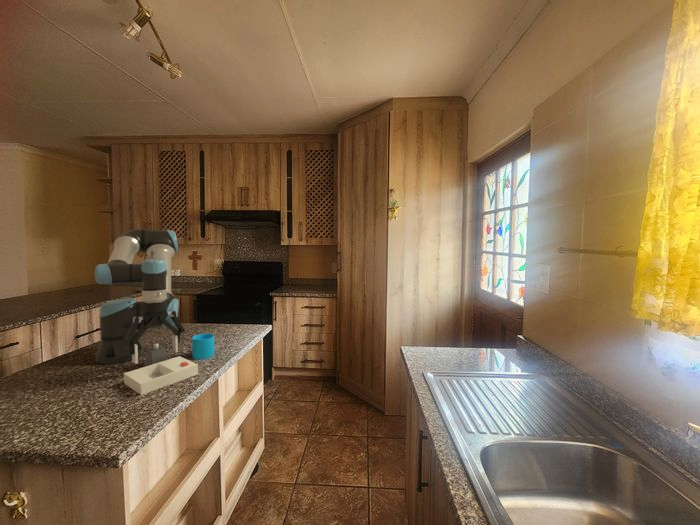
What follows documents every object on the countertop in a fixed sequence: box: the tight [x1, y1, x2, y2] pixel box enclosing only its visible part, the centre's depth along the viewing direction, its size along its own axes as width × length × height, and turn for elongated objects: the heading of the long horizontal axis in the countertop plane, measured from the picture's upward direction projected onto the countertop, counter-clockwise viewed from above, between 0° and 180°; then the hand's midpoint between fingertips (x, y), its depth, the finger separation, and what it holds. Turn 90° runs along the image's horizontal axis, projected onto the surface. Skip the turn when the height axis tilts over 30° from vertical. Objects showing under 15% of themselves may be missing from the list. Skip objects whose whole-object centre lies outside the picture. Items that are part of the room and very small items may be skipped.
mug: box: [191, 333, 215, 360], centre depth 124 cm, size 12×8×8 cm
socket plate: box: [123, 355, 199, 396], centre depth 101 cm, size 13×18×4 cm
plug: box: [145, 343, 167, 367], centre depth 110 cm, size 5×5×9 cm
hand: (156, 356), depth 110 cm, fingers open, 13 cm apart
